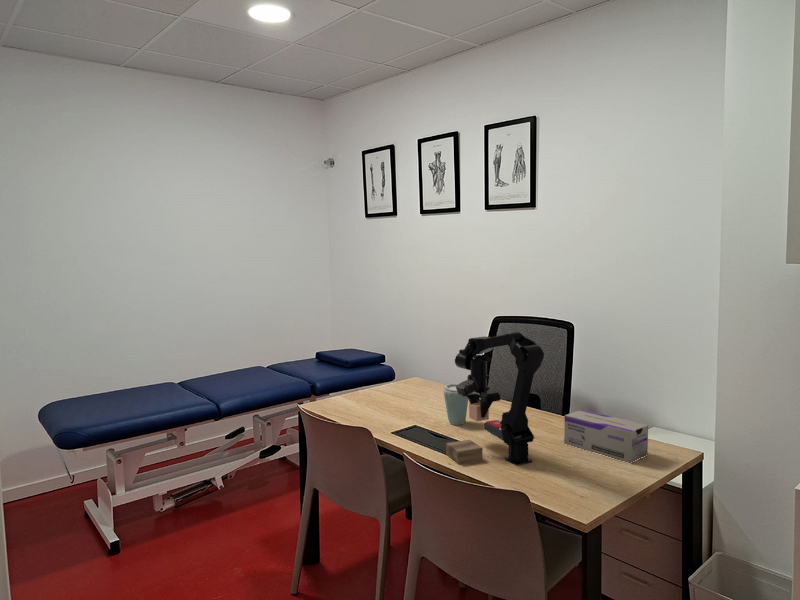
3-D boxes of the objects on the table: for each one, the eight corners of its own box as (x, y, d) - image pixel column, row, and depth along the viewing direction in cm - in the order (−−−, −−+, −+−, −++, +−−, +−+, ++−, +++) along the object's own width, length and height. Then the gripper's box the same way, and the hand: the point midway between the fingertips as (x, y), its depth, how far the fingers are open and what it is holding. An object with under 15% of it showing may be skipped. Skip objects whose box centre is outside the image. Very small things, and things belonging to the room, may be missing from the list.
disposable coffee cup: (474, 421, 236) (474, 384, 235) (463, 428, 227) (463, 390, 226) (450, 417, 242) (450, 381, 240) (438, 424, 233) (438, 387, 231)
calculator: (508, 417, 230) (529, 426, 216) (509, 428, 230) (530, 437, 216) (483, 420, 226) (503, 429, 212) (484, 431, 226) (503, 441, 212)
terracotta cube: (488, 419, 208) (488, 405, 207) (476, 421, 205) (476, 407, 205) (480, 415, 212) (480, 402, 212) (469, 417, 210) (469, 404, 209)
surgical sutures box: (564, 444, 208) (564, 415, 207) (582, 438, 214) (582, 409, 213) (630, 464, 188) (630, 432, 187) (647, 456, 195) (648, 425, 194)
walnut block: (482, 461, 194) (482, 447, 193) (457, 465, 191) (457, 451, 190) (470, 452, 202) (469, 439, 202) (446, 455, 199) (446, 443, 199)
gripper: (445, 370, 212) (445, 412, 214) (474, 380, 195) (474, 426, 197) (471, 366, 217) (471, 408, 218) (501, 376, 200) (501, 421, 202)
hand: (478, 415), depth 209 cm, fingers closed on terracotta cube, 5 cm apart
